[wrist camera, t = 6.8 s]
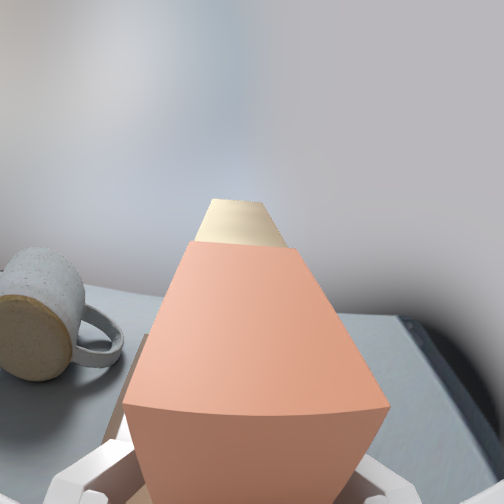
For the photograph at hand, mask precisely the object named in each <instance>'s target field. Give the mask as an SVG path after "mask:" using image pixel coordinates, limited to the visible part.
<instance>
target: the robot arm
mask: <svg viewBox="0 0 504 504" xmlns="http://www.w3.org/2000/svg"><path fill="white" fill-rule="evenodd" d="M144 484H145V480H144V477H143V474H142V472H141V468H140V465H139V462H138V459H137V456H136V453H135V449H134V446H133V443H132V439H131V435H130V432H129V428H128V424H127V421H126V417H125V413H124V415H123V418H122V421H121V424H120V427H119V430H118V433H117V436H116V439H115V440H113V439H110V440H108V441H107V442H105V443H104V444H103V445H101V446H100V447H98V448H97V449H95V450H94V451H92V452H91V453H89V454H88V455H86V456H85V457H83V458H82V459H80V460H79V461H77V462H76V463H74V464H72V465H71V466H69V467H68V468H66V469H65V470H63V471H61V472H60V473H58V474H57V475H55V476H54V477H53V479H52V481H51V484H50V486H49V489H48V492H47V494H46V497H45V499H44V502H43V504H125V503H126V502H127V501H128V500H129V499H130V498H131V497H132V496H133V495H134V494H135V493H136V492H137V491H138V490H139V489H140V488H141V487H142V486H143V485H144ZM0 504H20V503H18V502H16V501H14V500H12V499H10V498H9V497H7V496H5V495H3V494H1V493H0ZM333 504H422V503H421V500H420V498H419V496H418V494H417V492H416V490H415V487H414V485H413V484H411V483H410V482H408V481H407V480H405V479H403V478H402V477H400V476H399V475H397V474H396V473H394V472H393V471H391V470H390V469H388V468H387V467H385V466H384V465H382V464H381V463H379V462H378V461H376V460H375V459H373V458H372V457H370V456H369V455H368V454H366V453H365V455H364V456H363V458H362V460H361V461H360V463H359V465H358V466H357V468H356V469H355V471H354V472H353V474H352V476H351V477H350V479H349V480H348V482H347V483H346V485H345V486H344V488H343V489H342V490H341V492H340V493H339V495H338V496H337V498H336V499H335V500H334V502H333ZM459 504H504V479H503V480H501V481H500V482H498V483H496V484H495V485H493V486H491V487H490V488H488V489H486V490H484V491H482V492H481V493H479V494H477V495H475V496H473V497H471V498H469V499H467V500H465V501H463V502H461V503H459Z"/></svg>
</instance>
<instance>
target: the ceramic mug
mask: <svg viewBox="0 0 504 504" xmlns="http://www.w3.org/2000/svg"><path fill="white" fill-rule="evenodd" d="M81 320H83V321H85V322H87V323H89V324H92V325H93V326H95V327H97V328H98V329H100V330H101V331H103V332H104V333H105V334H106V335H107V336H108V337H109V338H110V339H111V341H112V348H111V349H110V350H109V351H108V352H98V351H93V350H88V349H86V348H83V347H79V346H77V345H76V343H77V338H78V330H79V327H80V323H81ZM123 344H124V336H123V332H122V330H121V329H120V327H119V326H118V325H117V324H116V323H115V322H114V321H113V320H112V319H111V318H110V317H108V316H107V315H106V314H104V313H102V312H101V311H100V310H98V309H96V308H94V307H92V306H90V305H87V304H86V303H85V289H84V285H83V281H82V279H81V277H80V275H79V273H78V272H77V270H76V268H75V267H74V266H73V264H72V263H71V262H70V261H68V260H67V259H66V258H65V257H64V256H63V255H61V254H59V253H58V252H56V251H53V250H51V249H48V248H43V247H32V248H27V249H24V250H22V251H20V252H19V253H17V254H16V255H15V256H14V257H13V258H11V260H10V261H9V263H8V265H7V266H6V268H5V270H4V271H3V273H2V275H1V276H0V367H2V368H3V369H4V370H5V371H7V372H9V373H10V374H12V375H14V376H16V377H18V378H20V379H24V380H29V381H45V380H49V379H53V378H55V377H57V376H59V375H60V374H61V373H62V372H64V370H65V369H66V368H67V366H68V364H69V363H71V362H73V363H77V364H78V365H81V366H85V367H93V368H105V367H108V366H111V365H113V364H114V363H115V362H116V361H117V360H118V359H119V356H120V353H121V350H122V347H123Z"/></svg>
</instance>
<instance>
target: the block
mask: <svg viewBox="0 0 504 504" xmlns="http://www.w3.org/2000/svg"><path fill="white" fill-rule="evenodd" d="M122 404H123V408H124V413H125V417H126V421H127V424H128V428H129V432H130V435H131V439H132V443H133V446H134V449H135V453H136V456H137V459H138V462H139V465H140V468H141V472H142V474H143V477H144V480H145V483H146V486H147V489H148V492H149V494H150V497H151V500H152V502H153V504H332V503H333V502H334V500H335V499H336V498H337V496H338V495H339V493H340V492H341V490H342V489H343V488H344V486H345V485H346V483H347V482H348V480H349V479H350V477H351V476H352V474H353V472H354V471H355V469H356V468H357V466H358V465H359V463H360V461H361V460H362V458H363V456H364V455H365V453H366V451H367V450H368V448H369V446H370V444H371V443H372V441H373V439H374V437H375V436H376V434H377V432H378V430H379V428H380V426H381V425H382V423H383V421H384V419H385V417H386V415H387V413H388V411H389V409H390V407H391V406H390V404H389V402H388V400H387V399H386V397H385V395H384V393H383V392H382V390H381V388H380V386H379V385H378V383H377V381H376V379H375V378H374V376H373V374H372V372H371V371H370V369H369V367H368V366H367V364H366V362H365V360H364V359H363V357H362V355H361V354H360V352H359V350H358V349H357V347H356V345H355V344H354V342H353V340H352V339H351V337H350V335H349V334H348V332H347V330H346V329H345V327H344V325H343V324H342V322H341V320H340V319H339V317H338V315H337V314H336V312H335V310H334V309H333V307H332V306H331V304H330V302H329V301H328V299H327V298H326V296H325V294H324V293H323V291H322V289H321V288H320V286H319V285H318V283H317V281H316V280H315V278H314V277H313V275H312V273H311V272H310V270H309V269H308V267H307V266H306V264H305V262H304V261H303V259H302V258H301V256H300V255H299V253H298V251H297V250H296V249H294V248H282V247H269V246H256V245H242V244H229V243H215V242H201V241H190V242H189V244H188V247H187V249H186V251H185V253H184V255H183V257H182V260H181V262H180V264H179V266H178V269H177V271H176V273H175V275H174V277H173V280H172V282H171V284H170V286H169V289H168V291H167V293H166V296H165V298H164V300H163V302H162V305H161V307H160V309H159V312H158V314H157V316H156V319H155V321H154V323H153V326H152V328H151V331H150V333H149V335H148V338H147V340H146V343H145V345H144V348H143V350H142V353H141V355H140V358H139V360H138V363H137V365H136V368H135V370H134V373H133V376H132V378H131V381H130V383H129V386H128V389H127V391H126V394H125V397H124V399H123V402H122Z"/></svg>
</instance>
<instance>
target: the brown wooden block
mask: <svg viewBox="0 0 504 504" xmlns="http://www.w3.org/2000/svg"><path fill="white" fill-rule="evenodd" d="M194 241H201V242H215V243H229V244H242V245H256V246H269V247H282V248H288V247H287V245H286V243H285V242H284V240H283V238H282V236H281V234H280V233H279V231H278V229H277V227H276V226H275V224H274V222H273V221H272V219H271V217H270V215H269V214H268V212H267V210H266V209H265V207H264V205H263V203H260V202H249V201H237V200H236V201H235V200H224V199H212V201H211V203H210V206H209V208H208V210H207V212H206V215H205V217H204V219H203V222H202V224H201V226H200V228H199V231H198V233H197V236H196V238H195V240H194ZM148 335H149V334H145V335H144V337H143V339H142V342H141V344H140V346H139V349H138V351H137V353H136V356H135V358H134V361H133V363H132V365H131V368H130V370H129V373H128V375H127V378H126V380H125V383H124V385H123V388H122V390H121V393H120V395H119V398H118V400H117V403H116V406H115V408H114V411H113V413H112V416H111V419H110V421H109V424H108V427H107V430H106V432H105V435H104V438H103V441H102V444H101V445H103V444H104V443H105V442H107V441H108V440H110V439H113V440H115V439H116V436H117V433H118V430H119V427H120V424H121V421H122V418H123V415H124V408H123V404H122V402H123V399H124V397H125V394H126V391H127V389H128V386H129V383H130V381H131V378H132V376H133V373H134V370H135V368H136V365H137V363H138V360H139V358H140V355H141V353H142V350H143V348H144V345H145V343H146V340H147V338H148ZM125 504H153V502H152V500H151V497H150V494H149V492H148V489H147V486H146V483H145V484H144V485H143V486H142V487H141V488H140V489H139V490H138V491H137V492H136V493H135V494H134V495H133V496H132V497H131V498H130V499H129V500H128V501H127V502H126V503H125ZM332 504H333V503H332Z"/></svg>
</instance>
